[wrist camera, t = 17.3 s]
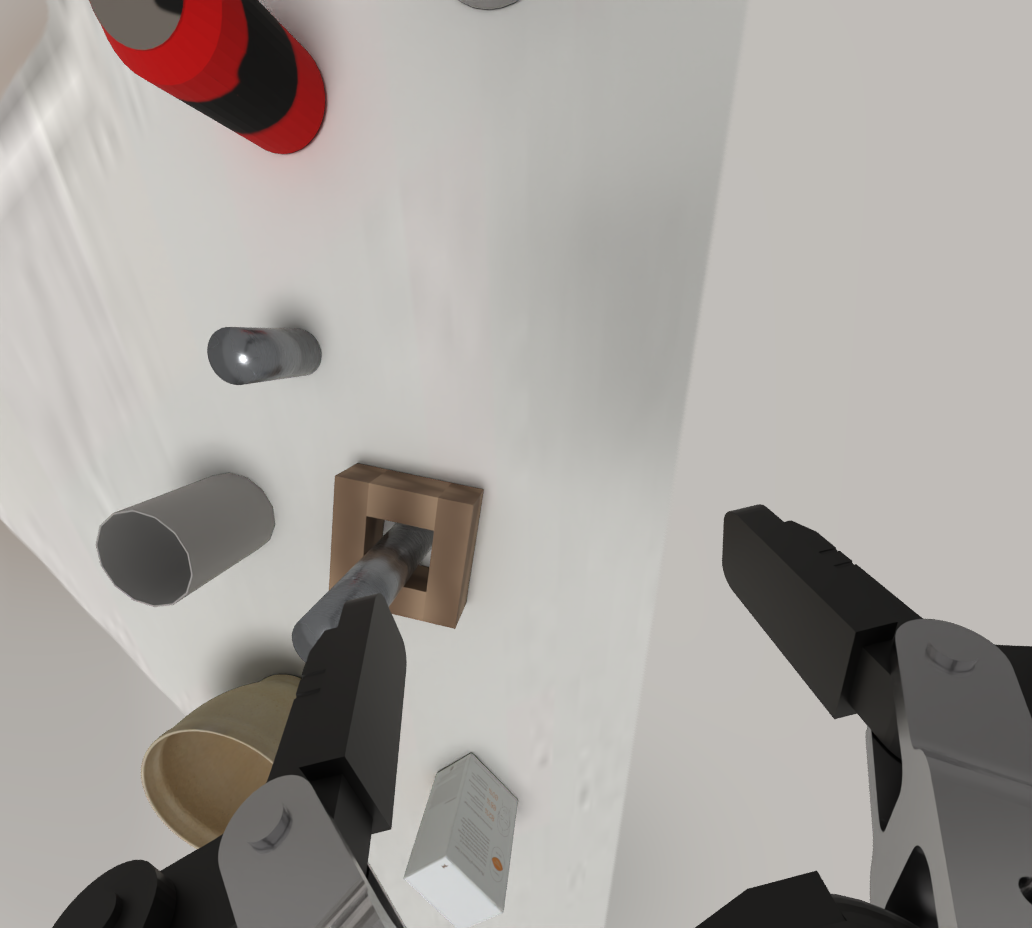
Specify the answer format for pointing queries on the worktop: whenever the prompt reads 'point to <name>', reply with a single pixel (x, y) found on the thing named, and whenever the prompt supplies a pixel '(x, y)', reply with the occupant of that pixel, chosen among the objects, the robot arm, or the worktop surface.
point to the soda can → (222, 64)
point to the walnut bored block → (413, 502)
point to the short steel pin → (262, 354)
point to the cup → (184, 538)
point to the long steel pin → (366, 581)
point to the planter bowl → (217, 758)
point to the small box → (464, 844)
